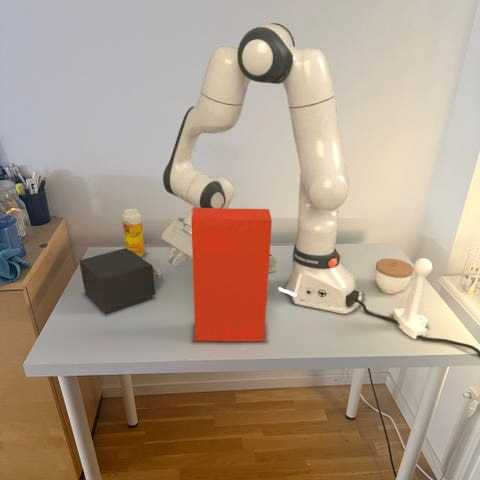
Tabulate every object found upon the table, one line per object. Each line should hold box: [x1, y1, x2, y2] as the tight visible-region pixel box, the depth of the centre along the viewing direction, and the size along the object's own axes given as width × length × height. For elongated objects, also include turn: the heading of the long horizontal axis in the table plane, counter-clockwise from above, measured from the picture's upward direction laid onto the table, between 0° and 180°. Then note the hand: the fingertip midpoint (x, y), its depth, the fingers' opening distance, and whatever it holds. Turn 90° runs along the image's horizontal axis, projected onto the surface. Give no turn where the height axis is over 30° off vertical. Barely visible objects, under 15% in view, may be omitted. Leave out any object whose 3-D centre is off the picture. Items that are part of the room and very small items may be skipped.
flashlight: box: [268, 253, 278, 273], centre depth 153 cm, size 15×5×5 cm, turn 25°
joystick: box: [392, 257, 433, 339], centre depth 119 cm, size 11×8×20 cm
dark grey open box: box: [78, 247, 153, 315], centre depth 131 cm, size 14×14×11 cm
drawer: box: [131, 251, 163, 295], centre depth 133 cm, size 17×13×9 cm
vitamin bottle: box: [121, 208, 146, 257], centre depth 153 cm, size 6×6×15 cm
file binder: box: [191, 207, 273, 342], centre depth 111 cm, size 8×17×32 cm, turn 92°
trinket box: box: [374, 258, 414, 295], centre depth 139 cm, size 11×11×9 cm
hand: (171, 263), depth 140 cm, fingers closed
